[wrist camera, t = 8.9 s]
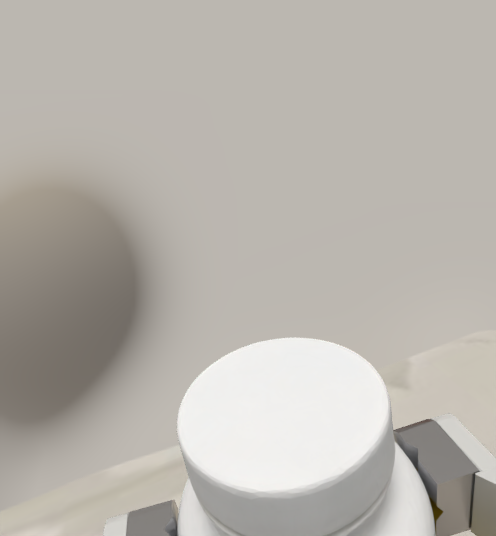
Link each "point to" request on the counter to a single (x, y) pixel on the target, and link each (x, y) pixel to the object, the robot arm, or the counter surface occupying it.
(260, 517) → the supplement bottle
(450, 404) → the counter surface
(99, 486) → the counter surface
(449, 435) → the robot arm
